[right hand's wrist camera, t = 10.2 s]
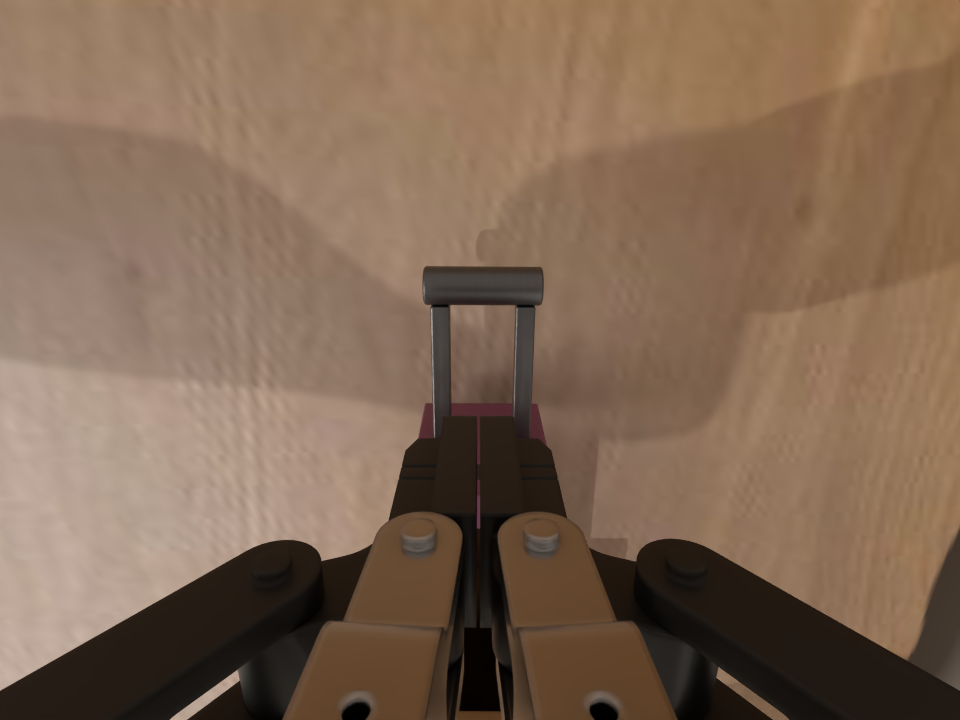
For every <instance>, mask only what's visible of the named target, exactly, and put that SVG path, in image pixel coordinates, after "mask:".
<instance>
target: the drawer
mask: <svg viewBox="0 0 960 720" xmlns="http://www.w3.org/2000/svg"><path fill="white" fill-rule="evenodd" d="M543 289H544V278H543V270H542V268H541V267H450V266H426V267H424V270H423V300H424V303H425V304H426V305H431V308H430V309H431V350H432V391H433V403H426V404H425V408H424V413H423V418H422V422H421V427H420V432H419V437H418V438H441V430H442V423H443V416H477V591H476V627H464V675H463V683H462V691H461V700H460V708H459V711H501V708H500V700H499V691H498V683H497V675H496V656H495V654H494V651H493V646H492V628H480V416H514V423H515V431H516V438H539V439H540V440H541V441H542V442H543V443H544V444H545V445H546V440H545V436H544V432H543V427H542V423H541V418H540V414H539V409H538V405H537V404H531V401H532V377H533V353H534V328H535V306H534V305H541V303H542V300H543ZM450 305H515V333H514V368H513V404H461V403H451V329H450ZM546 446H547V445H546Z"/></svg>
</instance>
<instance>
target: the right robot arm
mask: <svg viewBox="0 0 960 720" xmlns="http://www.w3.org/2000/svg"><path fill="white" fill-rule="evenodd" d="M476 591H477V416H443V423H442V430H441V438H418V439H417V440H416V441H415V442H414V443H413V444H412V445H411V446H410V447H409V448H408V449H407V450H406V451H405V455H404V459H403V463H402V468H401V472H400V476H399V480H398V484H397V488H396V492H395V496H394V501H393V505H392V509H391V513H390V517H389V521H388V522H386V523H385V524H384V525H383V526H382V527H381V528H380V529H379V531H378V532H377V534H376V536H375V539H374V541H373V544H371V545H370V546H368V547H367V548H365V549H363V550H361V551H358V552H356V553H353V554H350V555H346V556H343V557H338V558H334V559H329V560H325V561H321V557H320V555H319V553H318V551H317V550H316V549H315V548H314V547H312V546H311V545H309V544H307V543H304V542H301V541H295V540H280V541H273V542H268V543H265V544H261V545H259V546H256V547H254V548H252V549H250V550H248V551H246V552H244V553H242V554H240V555H239V556H237V557H235V558H233V559H232V560H230V561H228V562H226V563H225V564H223V565H221V566H219V567H218V568H216V569H214V570H212V571H210V572H209V573H207V574H205V575H203V576H202V577H200V578H198V579H196V580H195V581H193V582H191V583H189V584H188V585H186V586H184V587H182V588H181V589H179V590H177V591H175V592H173V593H172V594H170V595H168V596H166V597H165V598H163V599H161V600H159V601H158V602H156V603H154V604H152V605H151V606H149V607H147V608H145V609H144V610H142V611H140V612H138V613H137V614H135V615H133V616H131V617H129V618H128V619H126V620H124V621H122V622H121V623H119V624H117V625H115V626H114V627H112V628H110V629H108V630H107V631H105V632H103V633H101V634H100V635H98V636H96V637H94V638H92V639H91V640H89V641H87V642H85V643H84V644H82V645H80V646H78V647H77V648H75V649H73V650H71V651H70V652H68V653H66V654H64V655H63V656H61V657H59V658H57V659H56V660H54V661H52V662H50V663H48V664H47V665H45V666H43V667H41V668H40V669H38V670H36V671H34V672H33V673H31V674H29V675H27V676H26V677H24V678H22V679H20V680H19V681H17V682H15V683H13V684H11V685H10V686H8V687H6V688H4V689H3V690H1V691H0V720H170V719H171V718H172V717H173V716H174V715H176V714H177V713H178V712H180V711H181V710H182V709H184V708H185V707H186V706H188V705H189V704H191V703H192V702H193V701H195V700H196V699H198V698H199V697H200V696H202V695H203V694H204V693H206V692H207V691H209V690H210V689H211V688H213V687H214V686H215V685H217V684H218V683H220V682H221V681H222V680H224V679H225V678H227V677H228V676H229V675H231V674H232V673H233V672H235V671H236V670H238V673H239V678H240V681H239V682H238V683H236V684H235V685H234V686H232V687H231V688H229V689H228V690H227V691H225V692H224V693H223V694H221V695H220V696H219V697H217V698H216V699H215V700H213V701H212V702H211V703H209V704H208V705H207V706H205V707H204V708H203V709H201V710H200V711H198V712H197V713H196V714H194V715H193V716H192V717H190V718H189V719H188V720H458V717H459V708H460V700H461V691H462V683H463V675H464V627H476ZM480 628H492V646H493V651H494V654H495V656H496V675H497V683H498V691H499V700H500V708H501V717H502V720H772V719H771V718H770V717H768V716H767V715H766V714H764V713H763V712H762V711H760V710H759V709H757V708H756V707H755V706H753V705H752V704H751V703H749V702H748V701H747V700H745V699H744V698H743V697H741V696H740V695H739V694H737V693H736V692H735V691H733V690H732V689H731V688H729V687H728V686H726V685H725V684H724V683H722V682H721V681H720V680H718V679H717V678H716V676H717V671H718V667H720V668H721V669H722V670H724V671H725V672H727V673H728V674H729V675H731V676H732V677H733V678H735V679H736V680H738V681H739V682H740V683H742V684H743V685H744V686H746V687H747V688H749V689H750V690H751V691H753V692H754V693H756V694H757V695H758V696H760V697H761V698H762V699H764V700H765V701H767V702H768V703H769V704H771V705H772V706H773V707H775V708H776V709H778V710H779V711H780V712H782V713H783V714H784V715H785V716H786V717H787V718H788V719H789V720H960V691H959V690H957V689H956V688H954V687H952V686H950V685H948V684H947V683H945V682H943V681H941V680H940V679H938V678H936V677H934V676H933V675H931V674H929V673H927V672H926V671H924V670H922V669H920V668H919V667H917V666H915V665H913V664H911V663H910V662H908V661H906V660H904V659H903V658H901V657H899V656H897V655H896V654H894V653H892V652H890V651H889V650H887V649H885V648H883V647H882V646H880V645H878V644H876V643H875V642H873V641H871V640H869V639H867V638H866V637H864V636H862V635H860V634H859V633H857V632H855V631H853V630H852V629H850V628H848V627H846V626H845V625H843V624H841V623H839V622H838V621H836V620H834V619H832V618H831V617H829V616H827V615H825V614H823V613H822V612H820V611H818V610H816V609H815V608H813V607H811V606H809V605H808V604H806V603H804V602H802V601H801V600H799V599H797V598H795V597H794V596H792V595H790V594H788V593H786V592H785V591H783V590H781V589H779V588H778V587H776V586H774V585H772V584H771V583H769V582H767V581H765V580H764V579H762V578H760V577H758V576H757V575H755V574H753V573H751V572H750V571H748V570H746V569H744V568H742V567H741V566H739V565H737V564H735V563H734V562H732V561H730V560H728V559H727V558H725V557H723V556H721V555H720V554H718V553H716V552H714V551H713V550H711V549H709V548H707V547H705V546H702V545H700V544H697V543H694V542H690V541H686V540H680V539H662V540H657V541H653V542H651V543H649V544H647V545H645V546H644V547H643V548H642V549H641V550H640V551H639V553H638V556H637V561H636V562H635V561H630V560H626V559H621V558H617V557H612V556H609V555H605V554H602V553H600V552H597V551H595V550H593V549H591V548H589V547H588V544H587V541H586V539H585V536H584V534H583V532H582V531H581V529H580V528H579V527H578V526H577V525H576V524H575V523H574V522H572V521H570V520H569V519H567V516H566V512H565V507H564V503H563V499H562V494H561V490H560V486H559V482H558V480H557V473H556V469H555V464H554V460H553V456H552V451H551V450H550V449H549V448H548V447H547V446H546V445H545V444H544V443H543V442H542V441H541V440H540V439H539V438H516V431H515V423H514V416H480Z"/></svg>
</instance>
